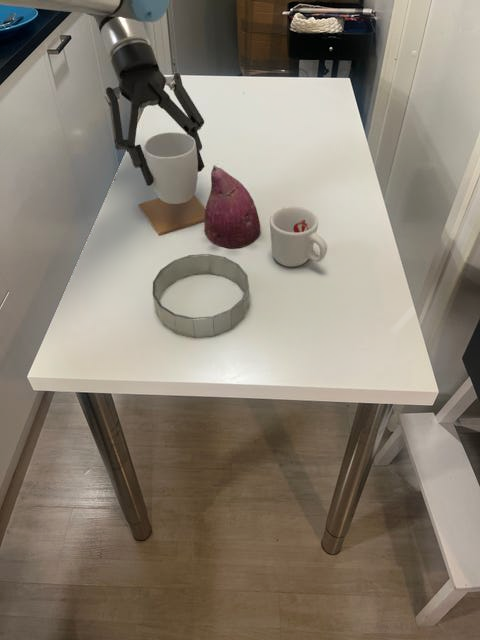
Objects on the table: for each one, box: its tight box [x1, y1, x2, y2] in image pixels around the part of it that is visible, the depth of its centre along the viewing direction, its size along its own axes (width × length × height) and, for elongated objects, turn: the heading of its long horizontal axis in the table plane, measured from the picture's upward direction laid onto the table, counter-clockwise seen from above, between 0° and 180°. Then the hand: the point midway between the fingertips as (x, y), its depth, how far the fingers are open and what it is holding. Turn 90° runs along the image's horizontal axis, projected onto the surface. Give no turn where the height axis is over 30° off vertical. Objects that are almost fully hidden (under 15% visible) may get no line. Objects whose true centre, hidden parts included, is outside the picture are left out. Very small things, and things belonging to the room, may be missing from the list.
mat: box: [138, 194, 206, 236], centre depth 97 cm, size 11×11×1 cm
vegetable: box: [203, 164, 261, 249], centre depth 88 cm, size 10×10×15 cm
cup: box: [269, 205, 328, 267], centre depth 84 cm, size 11×8×8 cm
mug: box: [143, 131, 199, 204], centre depth 90 cm, size 13×9×10 cm
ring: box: [152, 253, 250, 339], centre depth 78 cm, size 15×15×4 cm
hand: (176, 176), depth 88 cm, fingers closed on mug, 9 cm apart
